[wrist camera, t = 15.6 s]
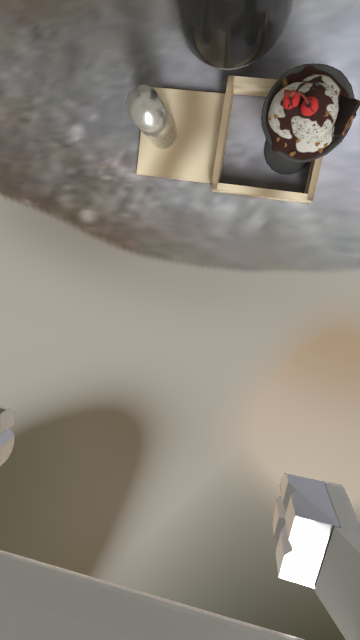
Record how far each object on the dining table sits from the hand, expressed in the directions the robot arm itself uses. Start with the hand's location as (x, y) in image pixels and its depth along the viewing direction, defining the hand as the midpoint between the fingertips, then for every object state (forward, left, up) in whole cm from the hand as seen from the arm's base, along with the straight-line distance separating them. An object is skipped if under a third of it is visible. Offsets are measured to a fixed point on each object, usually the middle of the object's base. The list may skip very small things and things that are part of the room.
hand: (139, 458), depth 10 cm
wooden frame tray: (-2, +16, -31) cm, 35 cm away
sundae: (+5, +16, -31) cm, 36 cm away
